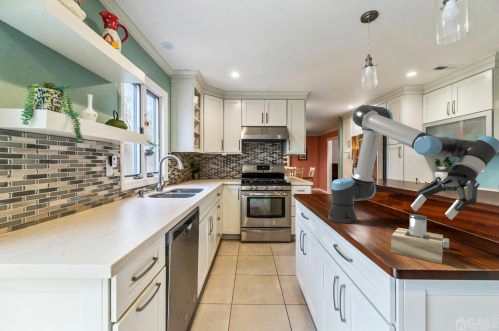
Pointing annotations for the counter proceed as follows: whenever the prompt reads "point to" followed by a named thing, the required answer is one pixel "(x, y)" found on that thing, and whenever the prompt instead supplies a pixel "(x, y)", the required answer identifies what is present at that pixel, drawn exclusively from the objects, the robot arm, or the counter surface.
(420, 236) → the capped cylinder
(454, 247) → the counter surface
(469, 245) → the counter surface
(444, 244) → the pipe fitting
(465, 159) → the robot arm
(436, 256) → the socket block
